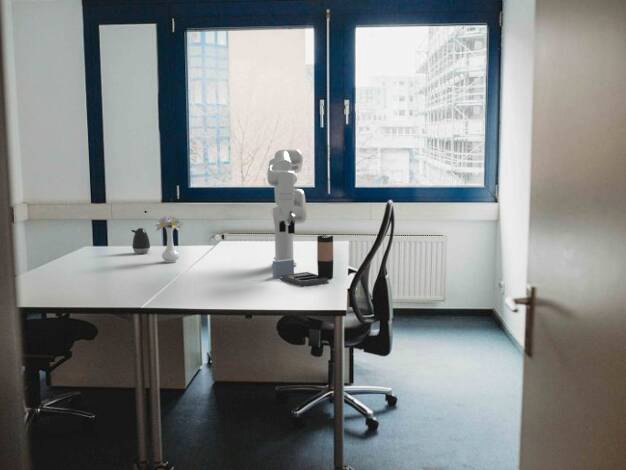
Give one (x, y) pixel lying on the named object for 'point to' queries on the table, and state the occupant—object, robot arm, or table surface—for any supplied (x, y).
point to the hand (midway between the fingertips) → (286, 232)
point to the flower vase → (169, 237)
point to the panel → (283, 267)
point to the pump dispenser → (140, 241)
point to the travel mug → (325, 256)
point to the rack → (305, 279)
